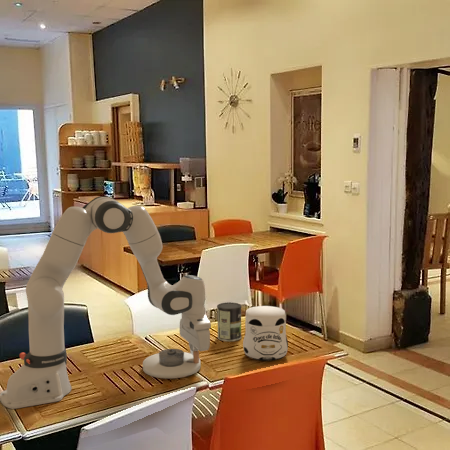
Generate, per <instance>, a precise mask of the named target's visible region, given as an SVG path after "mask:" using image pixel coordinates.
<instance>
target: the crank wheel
mask: <svg viewBox="0 0 450 450" xmlns="http://www.w3.org/2000/svg"><path fill="white" fill-rule="evenodd" d="M183 352H184V363H183V364H182V365H180V366H176V367H165V366H162V365H160V364H159V352H158V353H155V354H152V355H150V356H147V357H146V358H145V359H144V360H143V361H142V371H143V372H144V373H145V374H146V375H148V376H151V377H153V378H158V379H180V378H185V377H189V376H192V375H193V374H196V373H197V372H198V371H200V369H201V366H202V365H201V359H200V353H199V352H200V351H199V350H198V351H194V352H193V355H192V354H191V353H190V352H186V351H183Z"/></svg>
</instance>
